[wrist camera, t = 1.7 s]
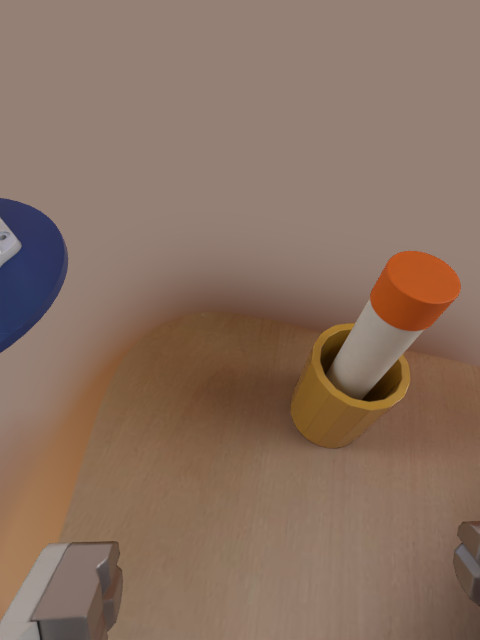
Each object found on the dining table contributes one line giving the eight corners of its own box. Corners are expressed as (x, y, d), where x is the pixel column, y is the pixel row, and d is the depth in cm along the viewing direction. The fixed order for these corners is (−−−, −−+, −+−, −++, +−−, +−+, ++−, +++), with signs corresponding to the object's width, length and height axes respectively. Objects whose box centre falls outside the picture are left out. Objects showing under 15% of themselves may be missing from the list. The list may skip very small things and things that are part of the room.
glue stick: (301, 401, 26) (371, 265, 14) (330, 383, 27) (419, 242, 15) (326, 434, 25) (429, 314, 13) (355, 414, 26) (476, 285, 14)
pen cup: (275, 399, 27) (293, 348, 20) (329, 366, 29) (361, 310, 22) (322, 464, 24) (360, 429, 18) (378, 422, 26) (430, 377, 20)
